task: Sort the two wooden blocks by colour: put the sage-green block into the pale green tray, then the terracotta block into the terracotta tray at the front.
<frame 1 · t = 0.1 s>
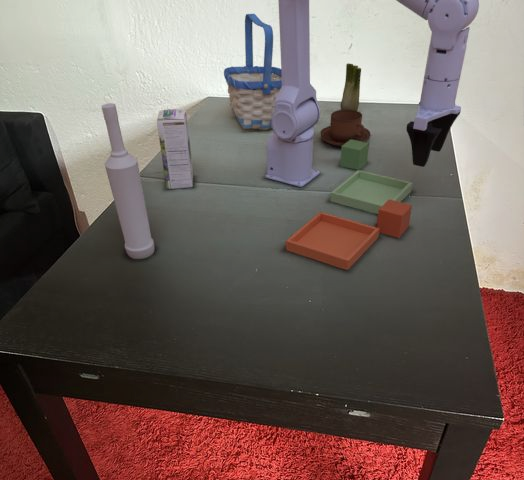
hand: (427, 157, 96), 10 cm above the table, tool pointing down, fingers open, 7 cm apart
green block: (353, 164, 118), on the table
clay tray: (332, 243, 94), on the table
fennel bulb: (349, 113, 142), on the table
basket: (259, 122, 140), on the table
green tray: (371, 196, 107), on the table
bottle: (141, 252, 94), on the table
cup and saucer: (344, 141, 128), on the table
syrup box: (181, 183, 114), on the table
clay block: (392, 229, 97), on the table
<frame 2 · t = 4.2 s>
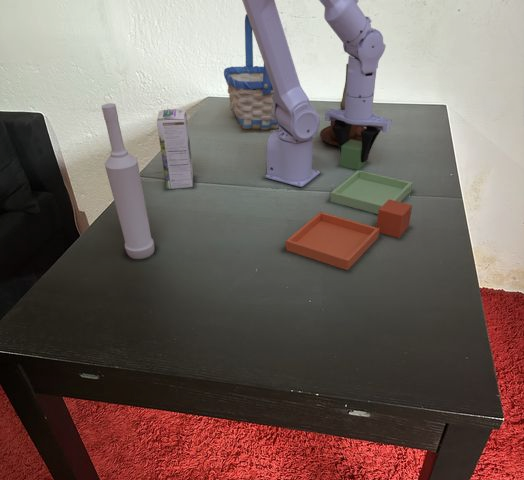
hand: (354, 158, 117), 1 cm above the table, tool pointing down, fingers closed on green block, 4 cm apart
green block: (353, 164, 118), on the table, touching gripper
everything else where it was.
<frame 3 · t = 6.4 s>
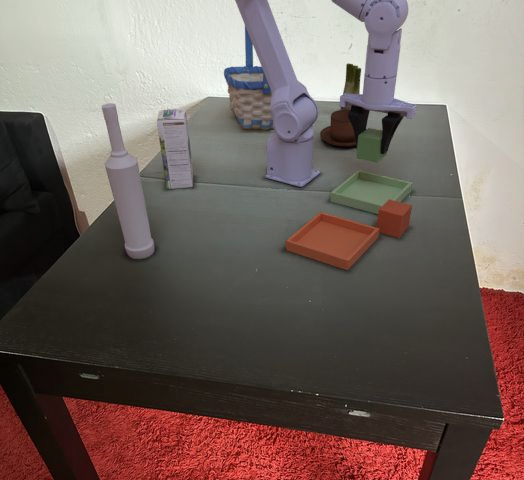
hand: (372, 149, 103), 8 cm above the table, tool pointing down, fingers closed on green block, 4 cm apart
green block: (371, 156, 104), point 7 cm above the table, touching gripper
everything else where it was.
when the fingers open (2 cm above the table, at t = 8.8 s): green block stays where it is, resting on green tray.
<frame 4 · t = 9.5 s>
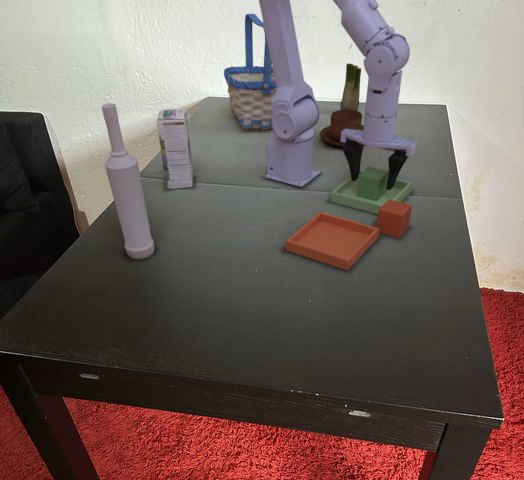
hand: (372, 183, 105), 3 cm above the table, tool pointing down, fingers open, 7 cm apart
green block: (371, 194, 107), resting on green tray
everything else where it was.
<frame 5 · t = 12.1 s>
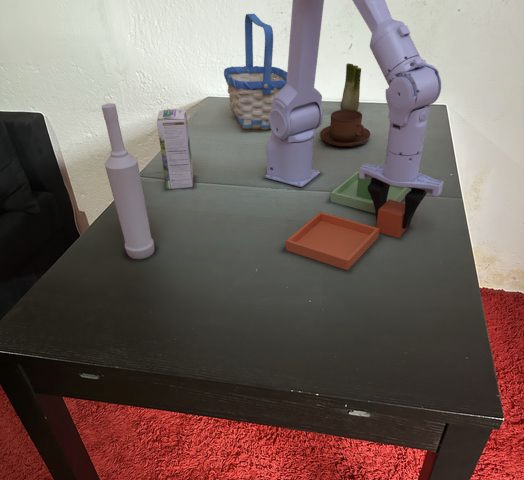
hand: (393, 222, 96), 1 cm above the table, tool pointing down, fingers closed on clay block, 4 cm apart
clay block: (391, 229, 97), on the table, touching gripper
everything else where it was.
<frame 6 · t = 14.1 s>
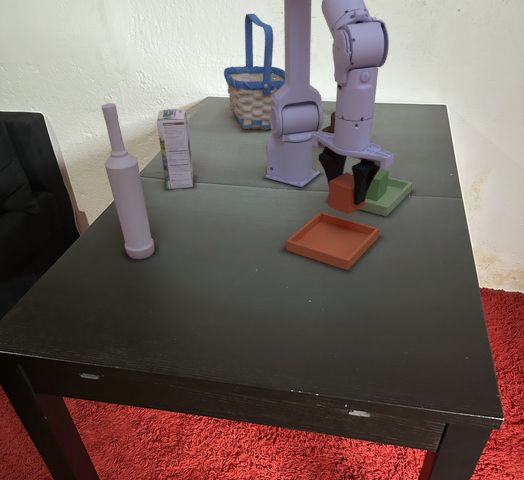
hand: (347, 197, 89), 8 cm above the table, tool pointing down, fingers closed on clay block, 4 cm apart
clay block: (346, 205, 90), point 7 cm above the table, touching gripper
everything else where it was.
when the fingers open (2 cm above the table, at t = 16.4 s): clay block stays where it is, point 1 cm above the table.
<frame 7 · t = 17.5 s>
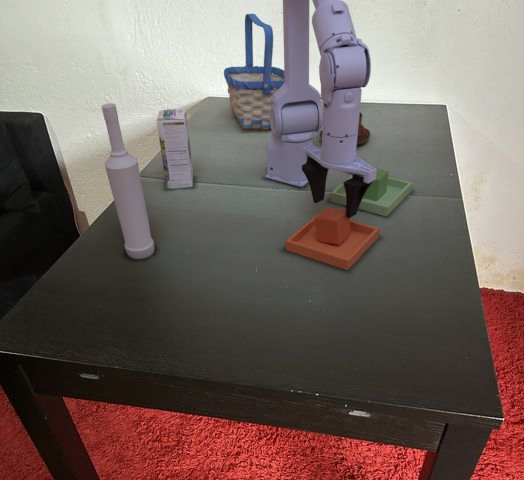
hand: (334, 208, 94), 5 cm above the table, tool pointing down, fingers open, 7 cm apart
clay block: (334, 237, 94), point 1 cm above the table, tilted 10°, touching gripper
everything else where it was.
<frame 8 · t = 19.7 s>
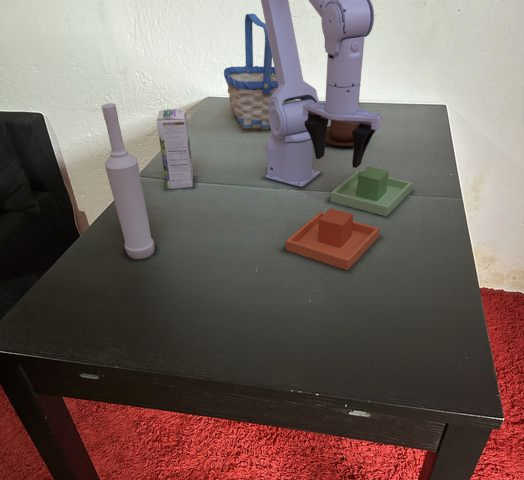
hand: (338, 161, 97), 9 cm above the table, tool pointing down, fingers open, 7 cm apart
clay block: (334, 239, 94), resting on clay tray
everything else where it was.
at the end: green block inside the target area in the green tray (0.1 cm from its centre), point 0.4 cm above the green tray's base; clay block inside the target area in the clay tray (1.0 cm from its centre), point 0.4 cm above the clay tray's base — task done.
